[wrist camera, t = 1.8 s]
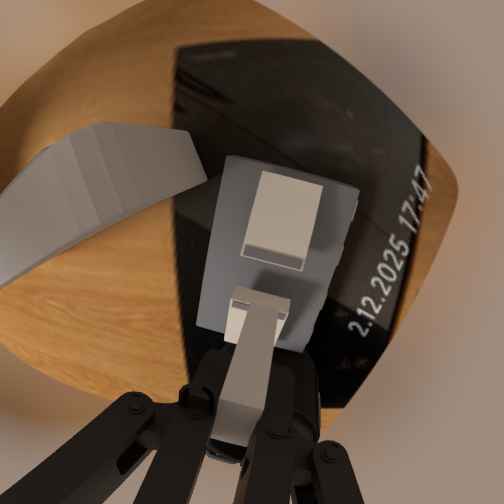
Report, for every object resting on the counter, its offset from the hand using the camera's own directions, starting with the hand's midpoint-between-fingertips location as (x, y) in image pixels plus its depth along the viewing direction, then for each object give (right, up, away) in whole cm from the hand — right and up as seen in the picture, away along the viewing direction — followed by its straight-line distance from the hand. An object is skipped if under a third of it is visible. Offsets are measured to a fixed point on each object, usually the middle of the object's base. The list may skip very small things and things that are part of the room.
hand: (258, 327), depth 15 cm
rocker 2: (+2, +6, +10) cm, 12 cm away
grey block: (-18, +10, +17) cm, 27 cm away
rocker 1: (0, -2, +13) cm, 13 cm away
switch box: (+2, +4, +16) cm, 17 cm away
